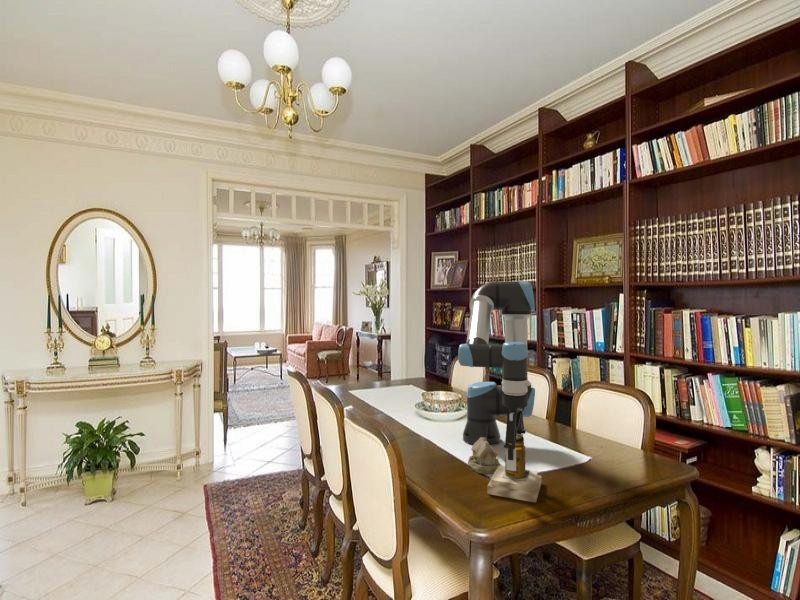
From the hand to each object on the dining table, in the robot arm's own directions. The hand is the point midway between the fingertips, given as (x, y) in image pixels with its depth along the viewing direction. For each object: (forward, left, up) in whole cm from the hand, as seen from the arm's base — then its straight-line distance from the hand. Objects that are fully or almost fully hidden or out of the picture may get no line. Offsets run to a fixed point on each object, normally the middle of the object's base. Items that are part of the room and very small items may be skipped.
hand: (515, 461), depth 134 cm
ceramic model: (-13, +14, -9) cm, 21 cm away
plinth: (0, 0, -8) cm, 8 cm away
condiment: (0, +1, -4) cm, 5 cm away
